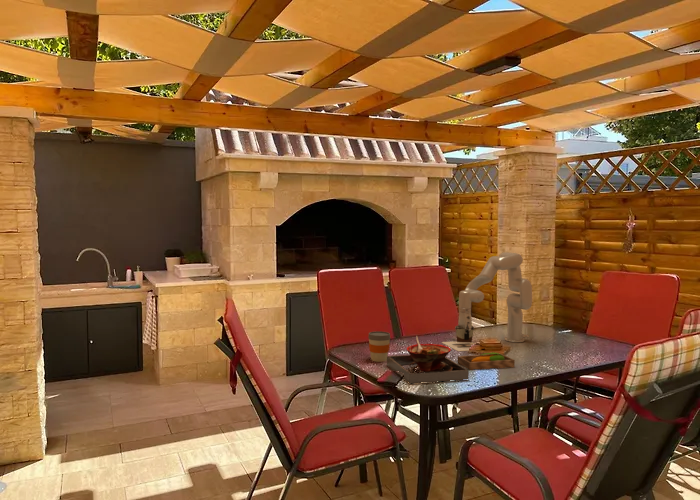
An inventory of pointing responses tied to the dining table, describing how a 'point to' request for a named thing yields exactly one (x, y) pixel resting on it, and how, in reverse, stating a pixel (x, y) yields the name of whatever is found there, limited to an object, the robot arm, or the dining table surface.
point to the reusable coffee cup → (379, 345)
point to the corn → (489, 357)
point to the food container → (460, 334)
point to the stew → (429, 357)
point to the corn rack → (484, 362)
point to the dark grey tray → (454, 374)
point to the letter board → (459, 345)
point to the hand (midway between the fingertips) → (464, 338)
